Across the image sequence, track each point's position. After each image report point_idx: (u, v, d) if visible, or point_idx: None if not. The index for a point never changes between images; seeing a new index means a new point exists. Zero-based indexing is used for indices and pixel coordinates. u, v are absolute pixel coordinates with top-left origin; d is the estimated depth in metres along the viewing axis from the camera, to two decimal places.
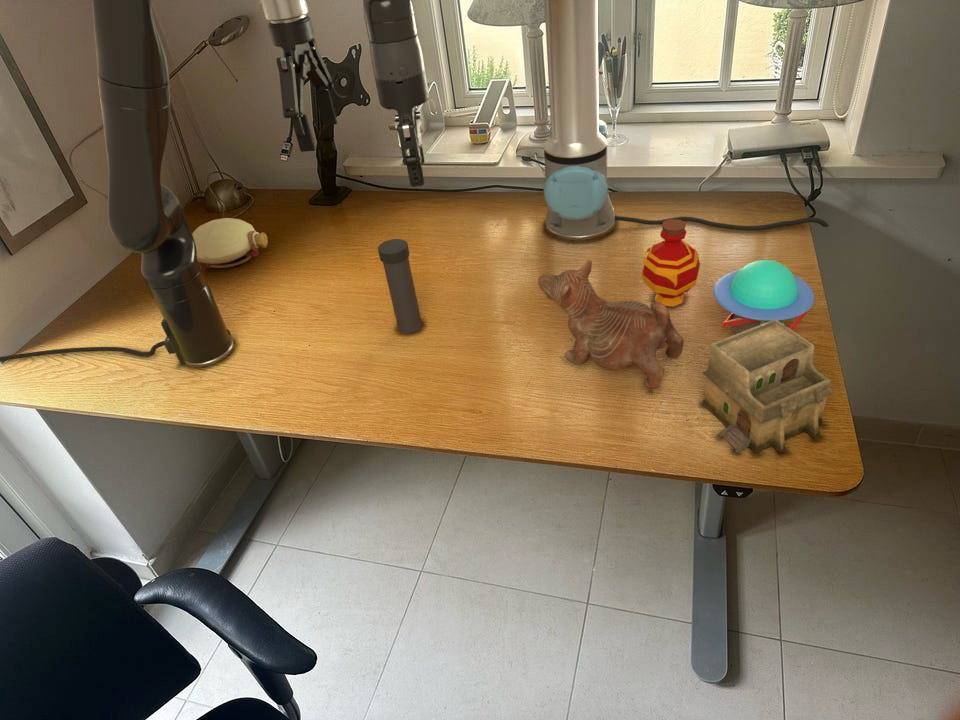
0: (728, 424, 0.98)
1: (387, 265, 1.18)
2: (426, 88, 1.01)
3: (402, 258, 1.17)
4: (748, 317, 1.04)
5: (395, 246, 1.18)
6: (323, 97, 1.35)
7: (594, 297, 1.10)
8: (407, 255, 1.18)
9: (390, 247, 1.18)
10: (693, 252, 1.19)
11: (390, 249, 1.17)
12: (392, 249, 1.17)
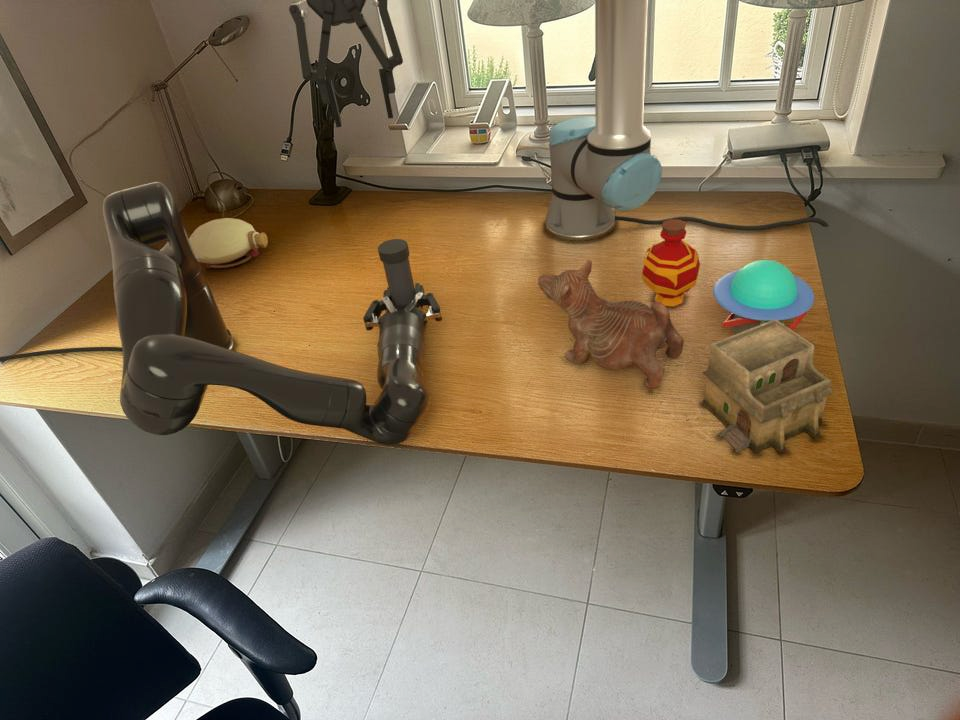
0: (728, 424, 0.98)
1: (387, 265, 1.18)
2: (404, 315, 1.13)
3: (402, 258, 1.17)
4: (748, 317, 1.04)
5: (395, 246, 1.18)
6: None
7: (594, 297, 1.10)
8: (407, 255, 1.18)
9: (390, 247, 1.18)
10: (693, 252, 1.19)
11: (390, 249, 1.17)
12: (392, 249, 1.17)
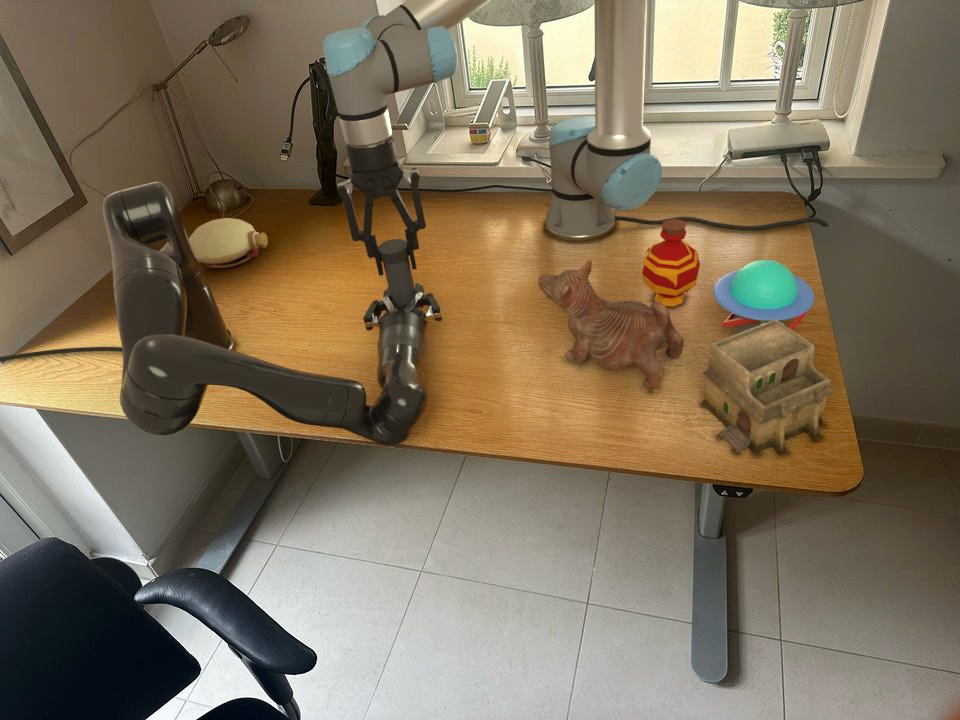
0: (728, 424, 0.98)
1: (387, 265, 1.18)
2: (404, 315, 1.13)
3: (402, 258, 1.17)
4: (748, 317, 1.04)
5: (395, 246, 1.18)
6: None
7: (594, 297, 1.10)
8: (407, 255, 1.18)
9: (390, 247, 1.18)
10: (693, 252, 1.19)
11: (390, 249, 1.17)
12: (392, 249, 1.17)
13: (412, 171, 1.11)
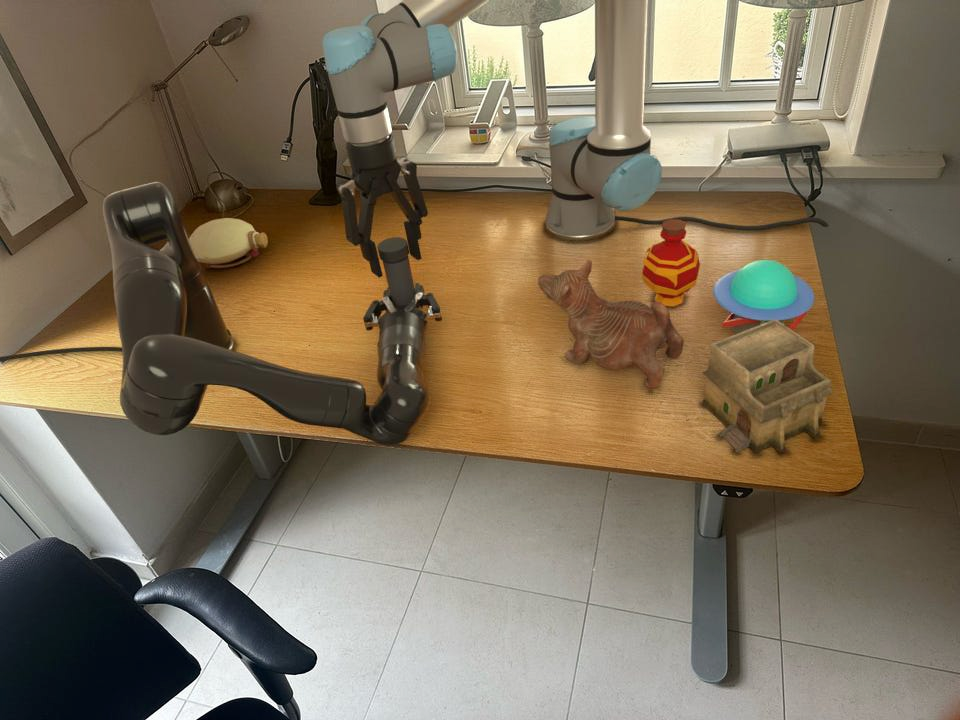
0: (728, 424, 0.98)
1: (387, 265, 1.18)
2: (404, 315, 1.13)
3: None
4: (748, 317, 1.04)
5: (392, 242, 1.18)
6: (408, 230, 1.18)
7: (594, 297, 1.10)
8: None
9: (394, 244, 1.18)
10: (693, 252, 1.19)
11: (398, 243, 1.18)
12: (398, 242, 1.18)
13: (407, 162, 1.12)
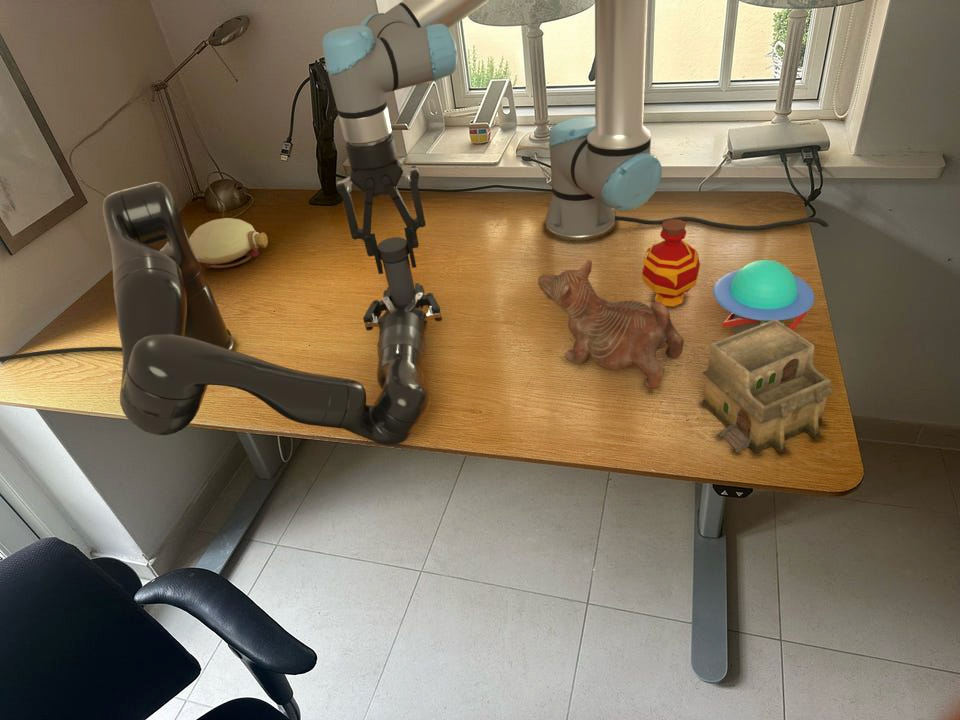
0: (728, 424, 0.98)
1: (387, 265, 1.18)
2: (404, 315, 1.13)
3: None
4: (748, 317, 1.04)
5: (392, 242, 1.18)
6: None
7: (594, 297, 1.10)
8: None
9: (394, 244, 1.18)
10: (693, 252, 1.19)
11: (398, 243, 1.18)
12: (398, 242, 1.18)
13: (412, 169, 1.10)
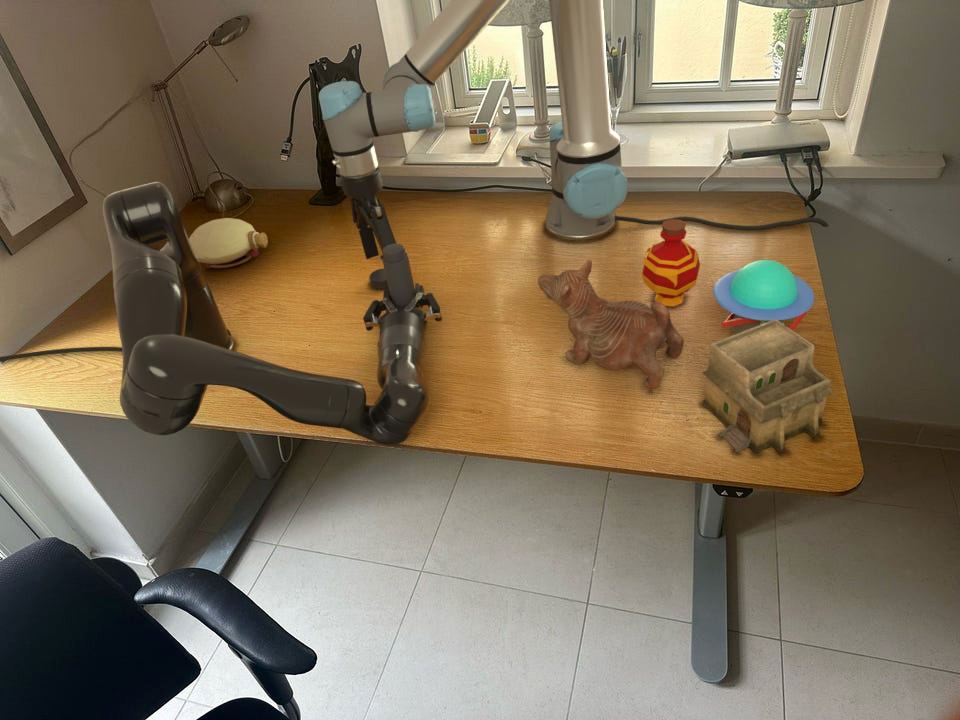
0: (728, 424, 0.98)
1: (387, 265, 1.18)
2: (404, 315, 1.13)
3: None
4: (748, 317, 1.04)
5: (379, 275, 1.41)
6: (367, 234, 1.42)
7: (594, 297, 1.10)
8: (371, 284, 1.42)
9: (382, 273, 1.41)
10: (693, 252, 1.19)
11: (380, 272, 1.42)
12: (378, 273, 1.42)
13: None
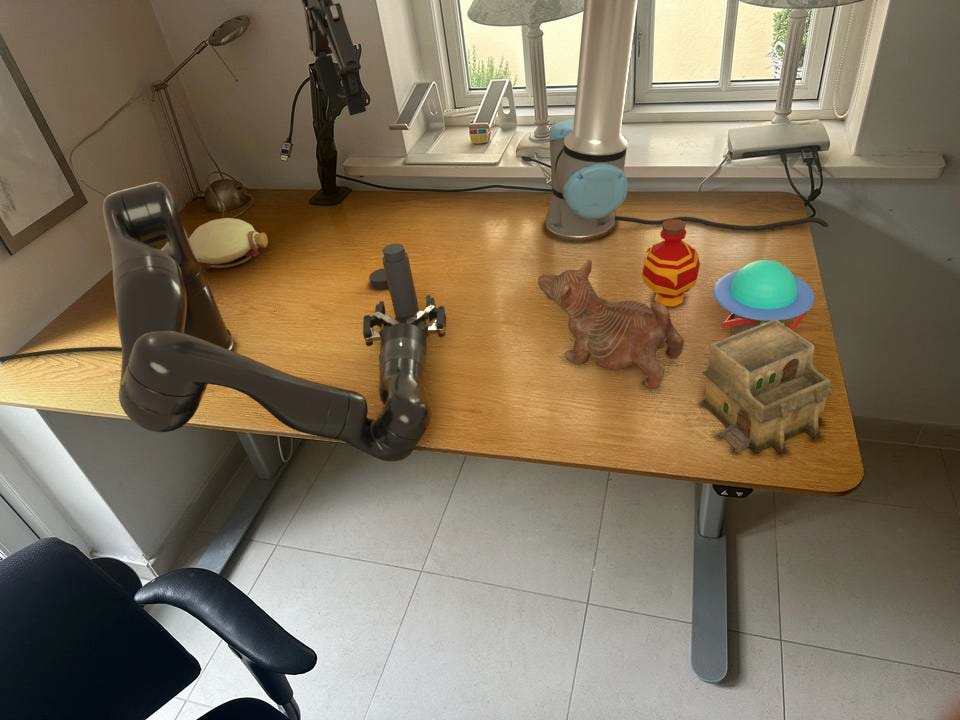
0: (728, 424, 0.98)
1: (387, 265, 1.18)
2: (406, 328, 1.11)
3: None
4: (748, 317, 1.04)
5: (379, 275, 1.41)
6: (326, 63, 1.21)
7: (594, 297, 1.10)
8: (371, 284, 1.42)
9: (382, 273, 1.41)
10: (693, 252, 1.19)
11: (380, 272, 1.42)
12: (378, 273, 1.42)
13: None
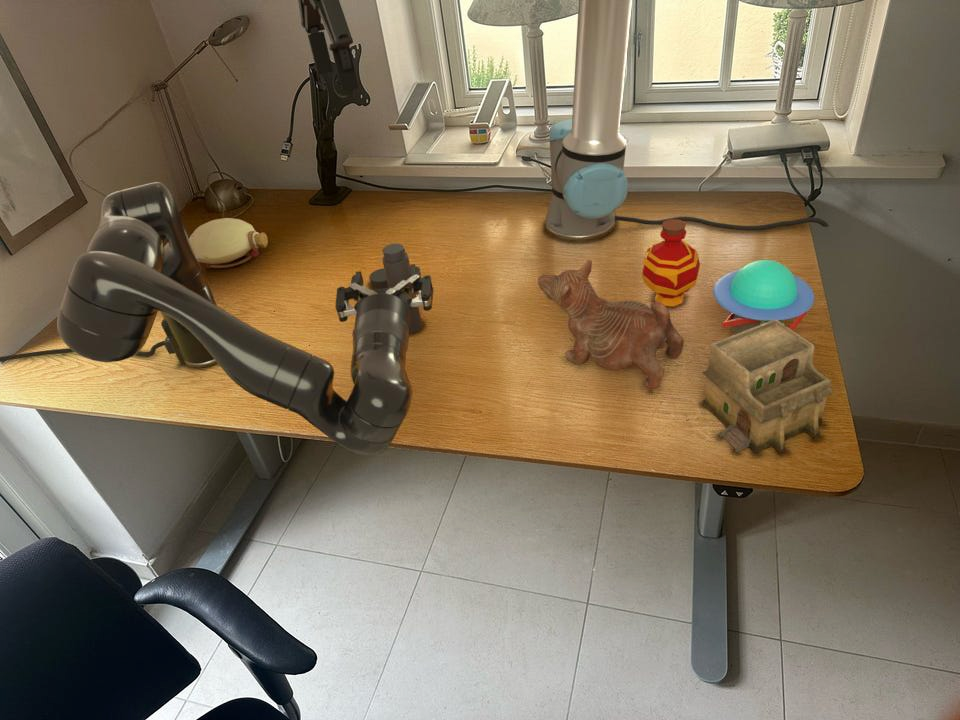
0: (728, 424, 0.98)
1: (387, 265, 1.18)
2: (384, 299, 0.95)
3: None
4: (748, 317, 1.04)
5: (379, 275, 1.41)
6: (318, 40, 1.19)
7: (594, 297, 1.10)
8: (371, 284, 1.42)
9: (382, 273, 1.41)
10: (693, 252, 1.19)
11: (380, 272, 1.42)
12: (378, 273, 1.42)
13: None
